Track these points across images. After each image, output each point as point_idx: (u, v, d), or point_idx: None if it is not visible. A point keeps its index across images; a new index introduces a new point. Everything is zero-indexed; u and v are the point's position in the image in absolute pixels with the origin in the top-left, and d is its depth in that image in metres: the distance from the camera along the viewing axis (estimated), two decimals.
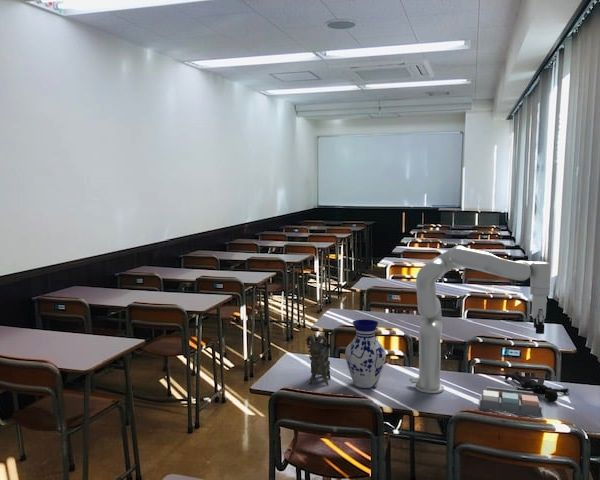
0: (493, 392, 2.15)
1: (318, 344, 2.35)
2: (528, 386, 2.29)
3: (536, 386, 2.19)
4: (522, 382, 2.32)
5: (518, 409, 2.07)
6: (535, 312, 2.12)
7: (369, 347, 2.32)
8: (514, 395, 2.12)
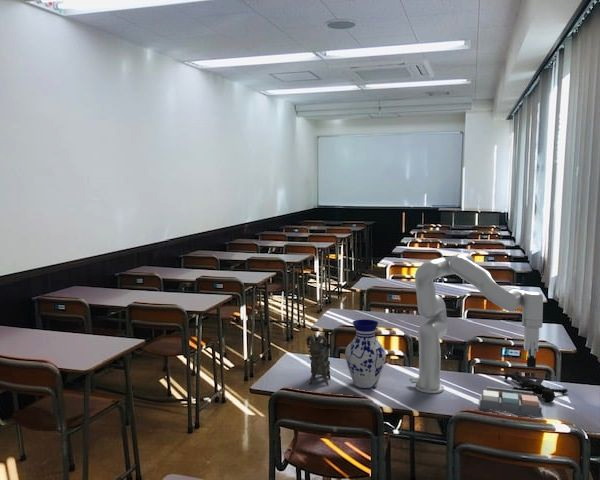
0: (493, 392, 2.15)
1: (318, 344, 2.35)
2: (526, 386, 2.29)
3: (533, 386, 2.19)
4: (520, 382, 2.33)
5: (518, 409, 2.07)
6: (527, 345, 2.03)
7: (369, 347, 2.32)
8: (514, 395, 2.12)
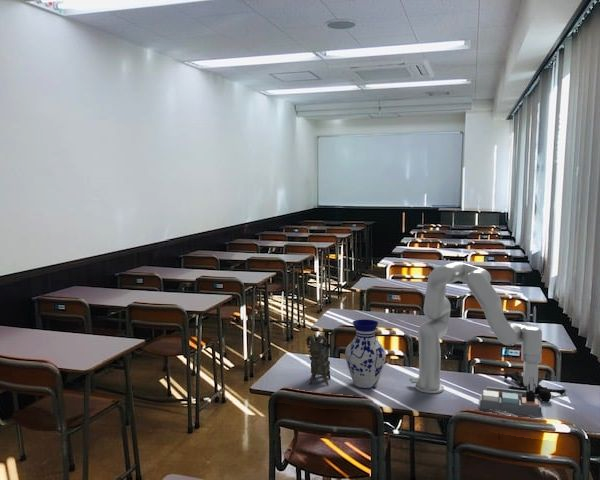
0: (493, 392, 2.15)
1: (318, 344, 2.35)
2: None
3: None
4: (519, 381, 2.33)
5: (518, 409, 2.07)
6: (526, 380, 2.04)
7: (369, 347, 2.32)
8: (514, 395, 2.12)
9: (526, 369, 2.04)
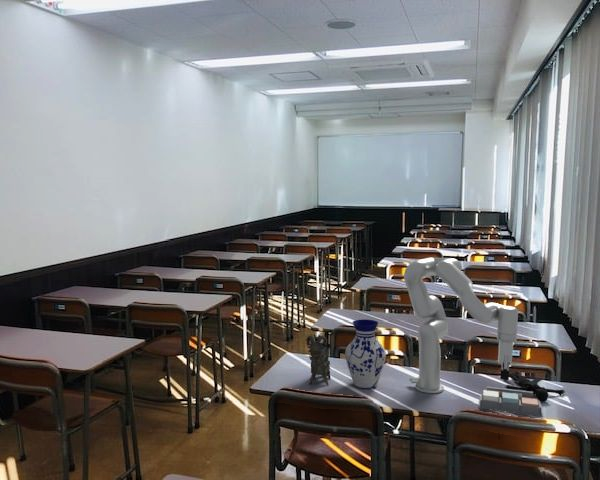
0: (493, 392, 2.15)
1: (318, 344, 2.35)
2: (522, 385, 2.30)
3: (526, 385, 2.20)
4: (517, 381, 2.33)
5: (518, 409, 2.07)
6: (501, 358, 2.07)
7: (369, 347, 2.32)
8: (514, 395, 2.12)
9: (501, 347, 2.07)
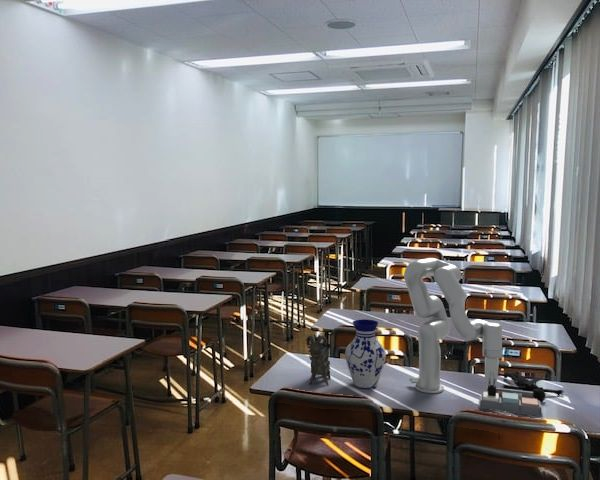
0: None
1: (318, 344, 2.35)
2: (520, 385, 2.30)
3: (523, 384, 2.21)
4: (516, 381, 2.34)
5: (518, 409, 2.07)
6: (487, 375, 2.09)
7: (369, 347, 2.32)
8: (514, 395, 2.12)
9: (486, 364, 2.10)
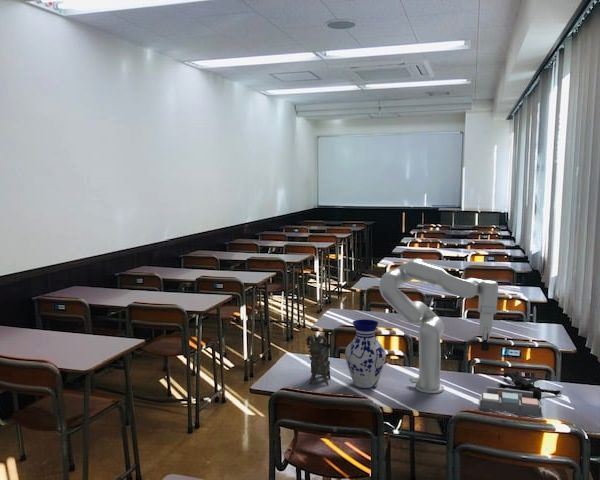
0: (493, 395, 2.15)
1: (318, 344, 2.35)
2: (518, 384, 2.31)
3: (519, 384, 2.22)
4: (514, 380, 2.35)
5: (518, 409, 2.07)
6: (480, 329, 2.18)
7: (369, 347, 2.32)
8: (514, 395, 2.12)
9: (481, 319, 2.18)
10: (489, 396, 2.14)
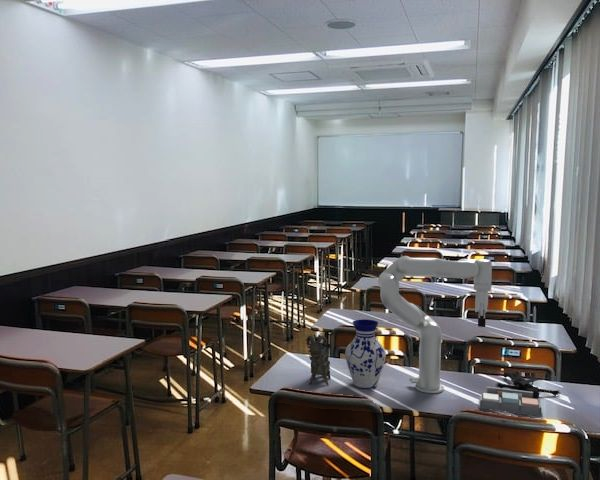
0: (493, 395, 2.15)
1: (318, 344, 2.35)
2: None
3: (516, 383, 2.22)
4: (513, 380, 2.35)
5: (518, 409, 2.07)
6: (477, 306, 2.27)
7: (369, 347, 2.32)
8: (514, 395, 2.12)
9: (477, 296, 2.27)
10: (489, 396, 2.14)
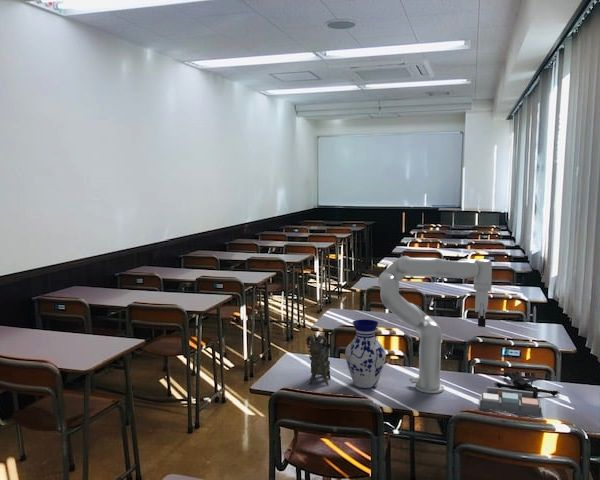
0: (493, 395, 2.15)
1: (318, 344, 2.35)
2: None
3: (515, 383, 2.23)
4: (512, 380, 2.35)
5: (518, 409, 2.07)
6: (477, 306, 2.27)
7: (369, 347, 2.32)
8: (514, 395, 2.12)
9: (477, 296, 2.27)
10: (489, 396, 2.14)
